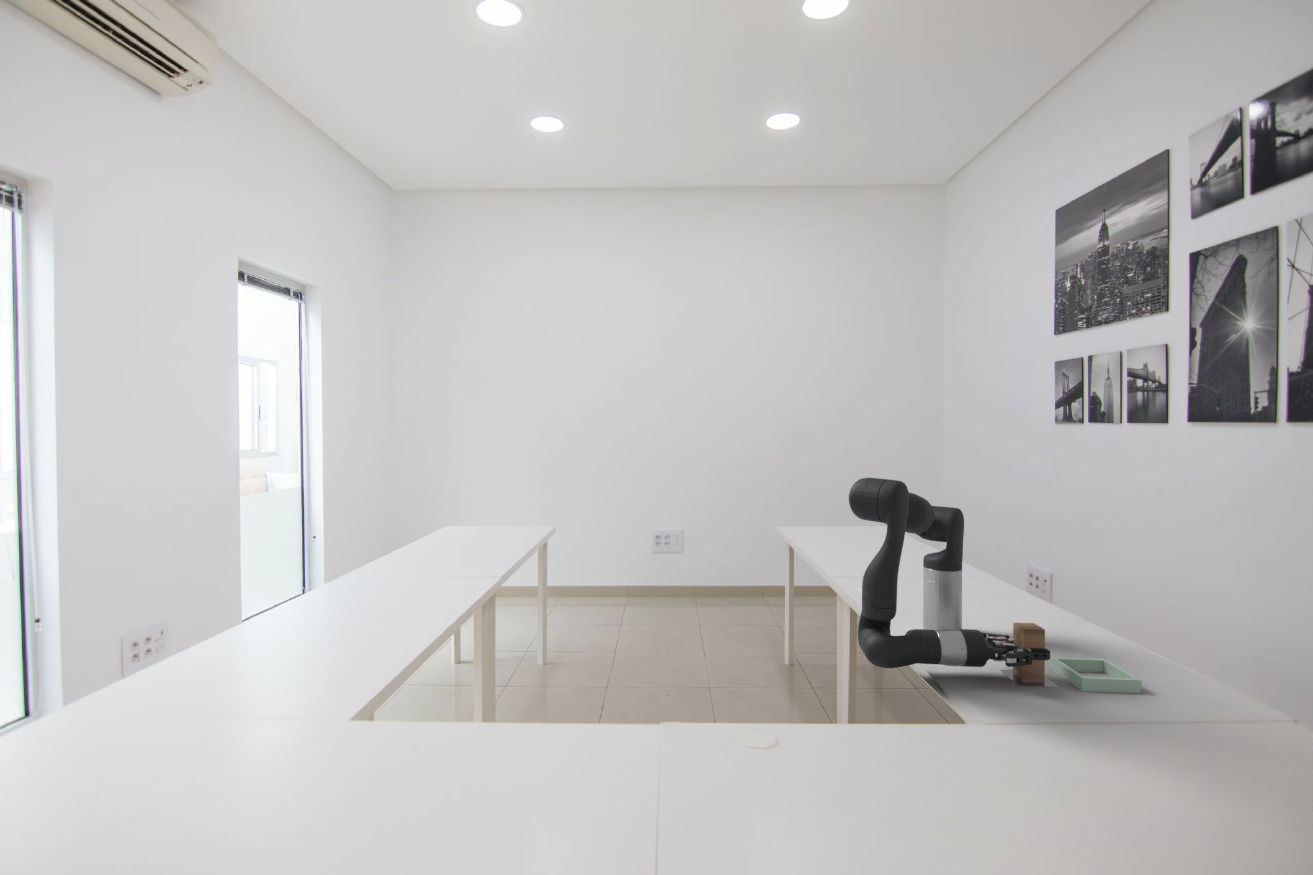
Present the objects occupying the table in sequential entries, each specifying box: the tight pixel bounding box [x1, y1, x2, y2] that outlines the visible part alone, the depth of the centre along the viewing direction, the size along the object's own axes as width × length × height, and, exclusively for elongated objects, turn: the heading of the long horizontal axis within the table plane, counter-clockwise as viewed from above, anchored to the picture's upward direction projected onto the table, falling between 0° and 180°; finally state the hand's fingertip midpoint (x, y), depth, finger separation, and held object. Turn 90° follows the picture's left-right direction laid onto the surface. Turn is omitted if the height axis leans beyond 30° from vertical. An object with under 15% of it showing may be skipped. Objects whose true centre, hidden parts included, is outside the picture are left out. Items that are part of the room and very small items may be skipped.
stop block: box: [1012, 622, 1046, 683], centre depth 125 cm, size 4×4×11 cm
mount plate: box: [999, 669, 1060, 688], centre depth 125 cm, size 8×8×1 cm
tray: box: [1050, 657, 1142, 694], centre depth 124 cm, size 11×11×4 cm
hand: (1042, 650), depth 125 cm, fingers closed on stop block, 4 cm apart
